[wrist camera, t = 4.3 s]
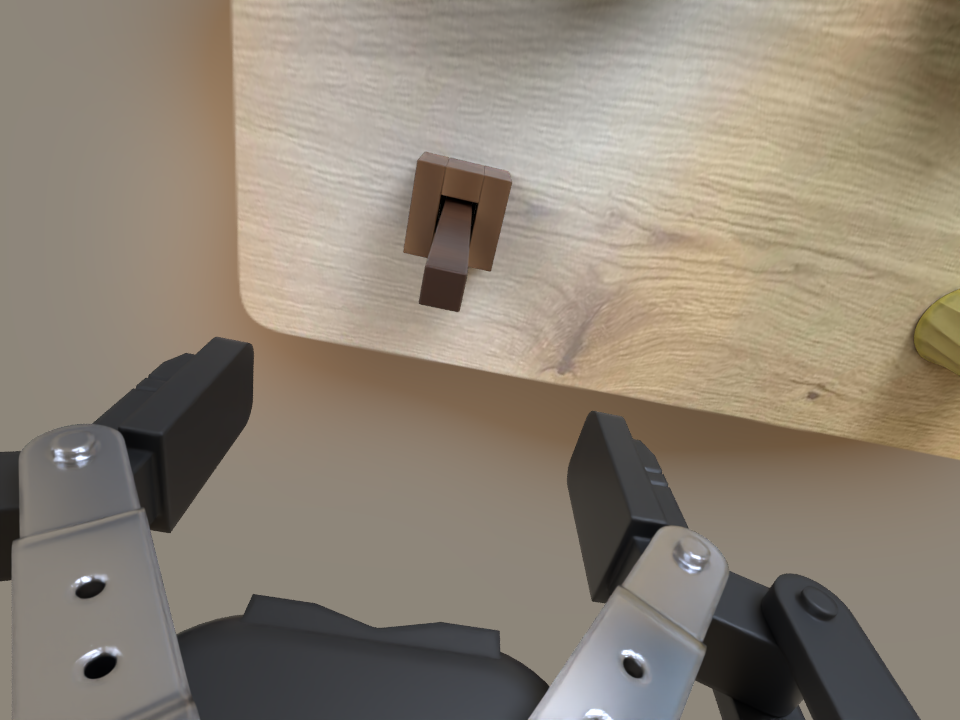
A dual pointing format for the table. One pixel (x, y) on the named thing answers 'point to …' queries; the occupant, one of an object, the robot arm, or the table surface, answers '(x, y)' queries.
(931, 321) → the vase
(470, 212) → the stirring stick
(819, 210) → the table surface
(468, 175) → the stick stand
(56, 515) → the robot arm
